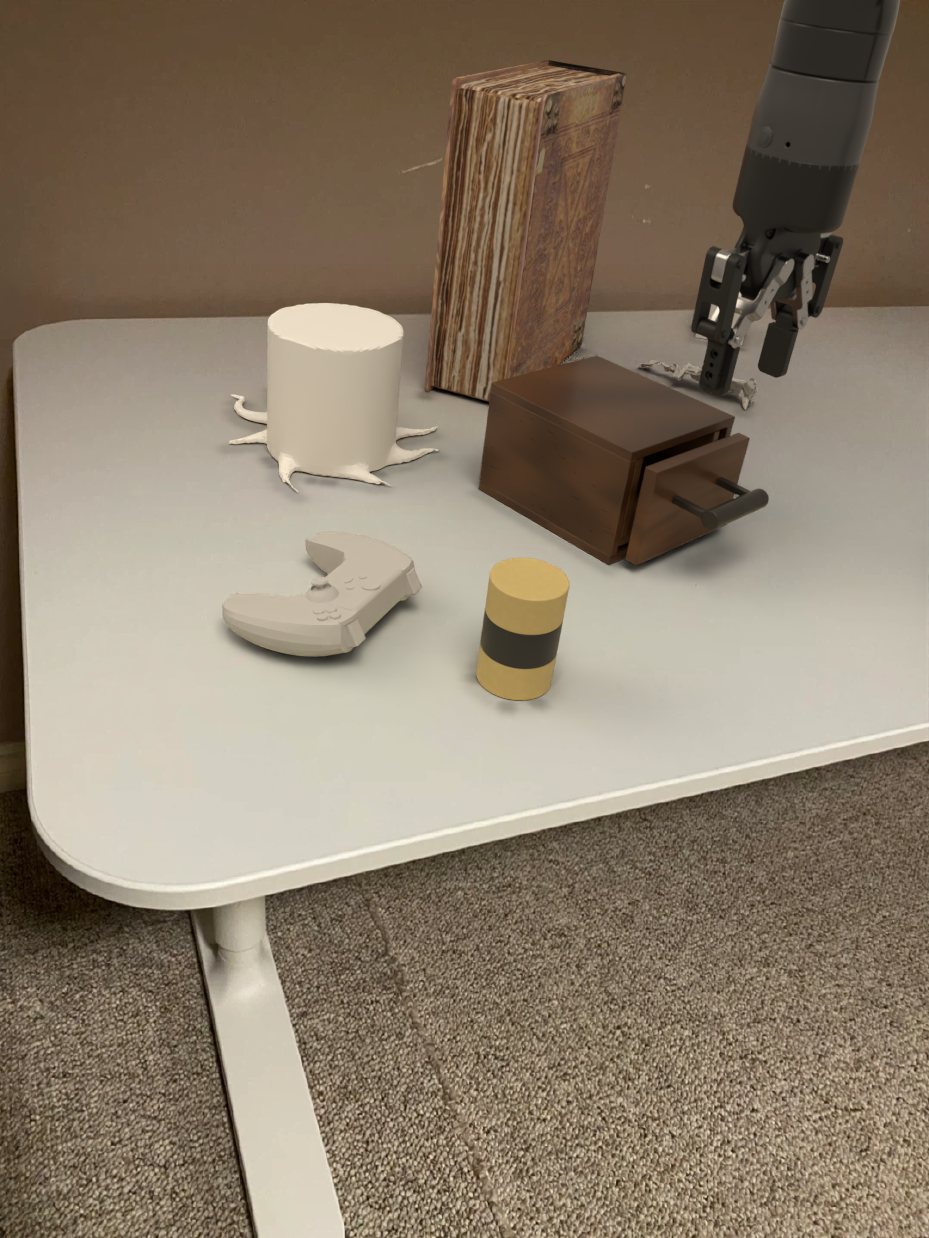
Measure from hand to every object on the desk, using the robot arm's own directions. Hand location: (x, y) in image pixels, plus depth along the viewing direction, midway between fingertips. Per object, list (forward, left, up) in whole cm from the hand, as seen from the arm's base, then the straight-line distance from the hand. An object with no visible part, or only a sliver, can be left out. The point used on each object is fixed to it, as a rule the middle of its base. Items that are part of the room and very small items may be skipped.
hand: (742, 382), depth 81 cm
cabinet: (+12, 0, -16) cm, 20 cm away
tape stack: (-2, +24, -16) cm, 29 cm away
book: (+40, -17, -16) cm, 46 cm away
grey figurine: (+25, -32, -16) cm, 43 cm away
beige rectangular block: (+35, -51, -16) cm, 64 cm away
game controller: (+11, +30, -16) cm, 36 cm away
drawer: (+7, 0, -15) cm, 16 cm away
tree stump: (+35, +13, -16) cm, 40 cm away
